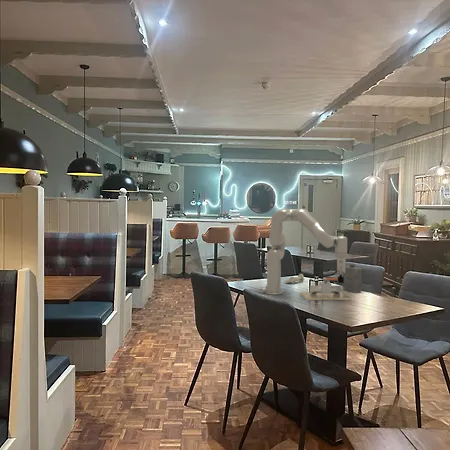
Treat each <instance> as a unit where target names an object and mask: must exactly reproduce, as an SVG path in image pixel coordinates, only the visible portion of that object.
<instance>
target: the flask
mask: <svg viewBox="0 0 450 450" xmlns="http://www.w3.org/2000/svg"><path fill="white" fill-rule="evenodd" d="M362 271H363V269H362V268H361V267H357V266H355V263H349V265H346V266H345V273H344V272H343V276H344V283H342V285H343V286H342V288H343V291H346V292H348V293H349V292H351V293H355V294H360V293H362Z"/></svg>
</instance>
